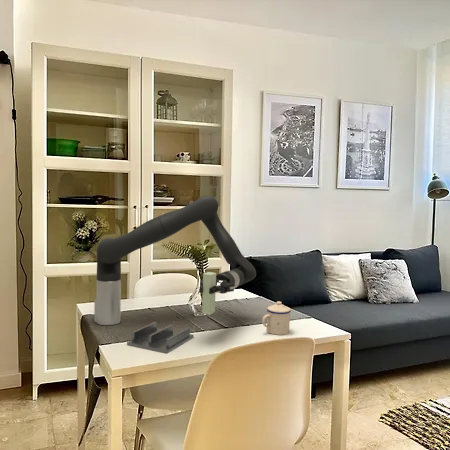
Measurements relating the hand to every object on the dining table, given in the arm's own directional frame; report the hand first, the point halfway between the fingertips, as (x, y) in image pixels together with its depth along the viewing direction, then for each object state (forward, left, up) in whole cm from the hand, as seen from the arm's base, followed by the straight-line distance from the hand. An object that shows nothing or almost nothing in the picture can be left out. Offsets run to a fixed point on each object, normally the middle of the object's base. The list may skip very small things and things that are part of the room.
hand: (205, 290), depth 154 cm
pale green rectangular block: (0, +3, -9) cm, 9 cm away
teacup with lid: (+17, +26, -20) cm, 37 cm away
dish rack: (-15, -4, -19) cm, 25 cm away
